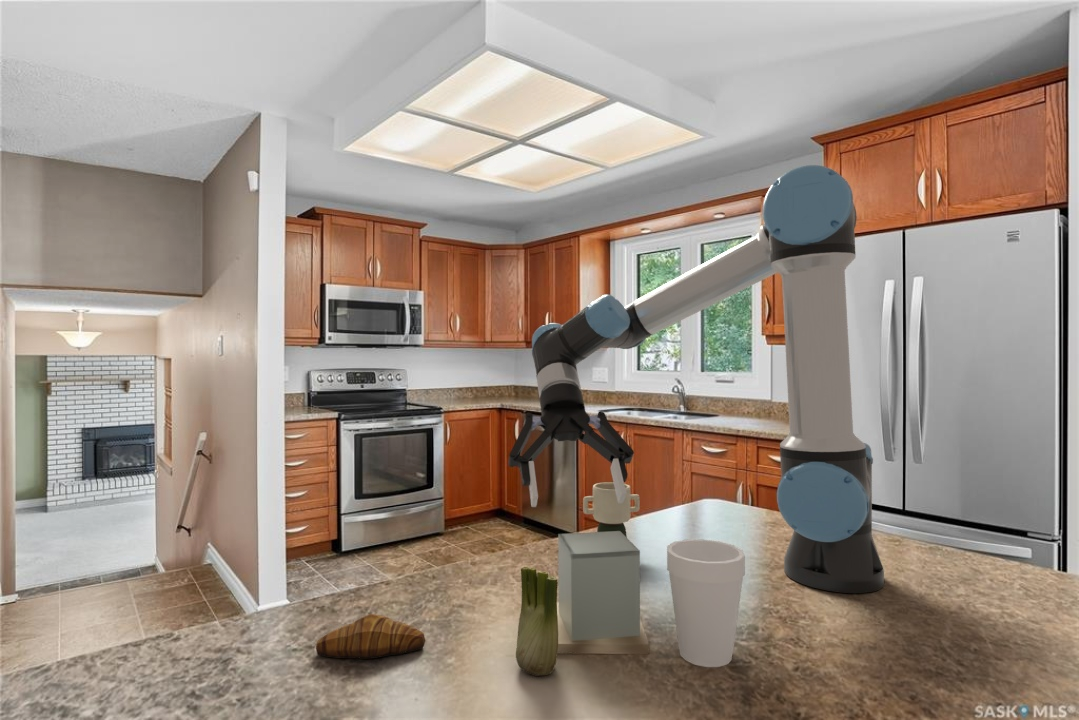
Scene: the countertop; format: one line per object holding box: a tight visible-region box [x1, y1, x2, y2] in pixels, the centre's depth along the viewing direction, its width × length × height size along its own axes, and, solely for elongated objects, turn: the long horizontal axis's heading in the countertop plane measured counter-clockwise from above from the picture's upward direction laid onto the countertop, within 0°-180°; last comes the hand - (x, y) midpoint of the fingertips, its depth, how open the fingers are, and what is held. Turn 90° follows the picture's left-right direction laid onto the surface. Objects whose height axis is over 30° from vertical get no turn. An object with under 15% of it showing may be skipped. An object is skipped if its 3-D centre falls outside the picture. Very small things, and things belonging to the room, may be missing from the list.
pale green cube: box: [557, 531, 641, 641], centre depth 82 cm, size 9×9×11 cm
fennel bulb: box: [515, 566, 559, 677], centre depth 73 cm, size 6×5×12 cm
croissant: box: [315, 613, 426, 660], centre depth 77 cm, size 14×7×5 cm, turn 97°
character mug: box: [582, 481, 641, 538], centre depth 114 cm, size 11×7×13 cm, turn 99°
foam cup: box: [666, 538, 746, 668], centre depth 76 cm, size 10×9×13 cm
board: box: [557, 601, 650, 655], centre depth 83 cm, size 16×13×1 cm
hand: (579, 500), depth 93 cm, fingers open, 13 cm apart
